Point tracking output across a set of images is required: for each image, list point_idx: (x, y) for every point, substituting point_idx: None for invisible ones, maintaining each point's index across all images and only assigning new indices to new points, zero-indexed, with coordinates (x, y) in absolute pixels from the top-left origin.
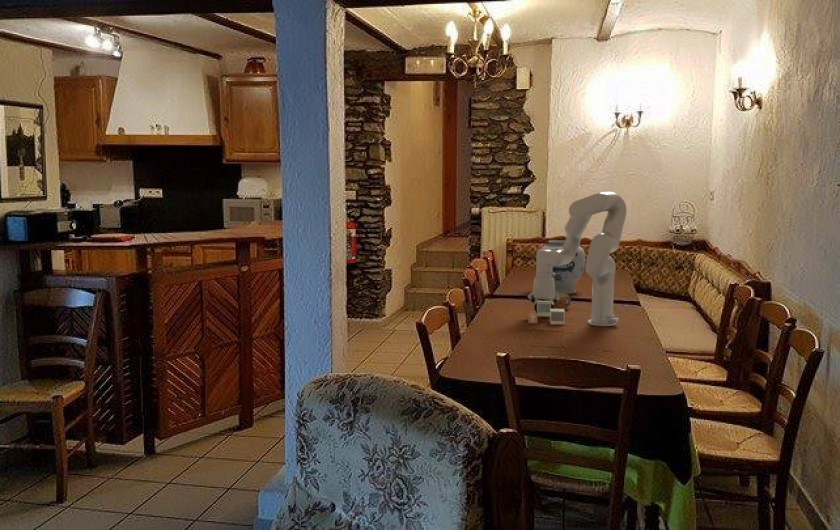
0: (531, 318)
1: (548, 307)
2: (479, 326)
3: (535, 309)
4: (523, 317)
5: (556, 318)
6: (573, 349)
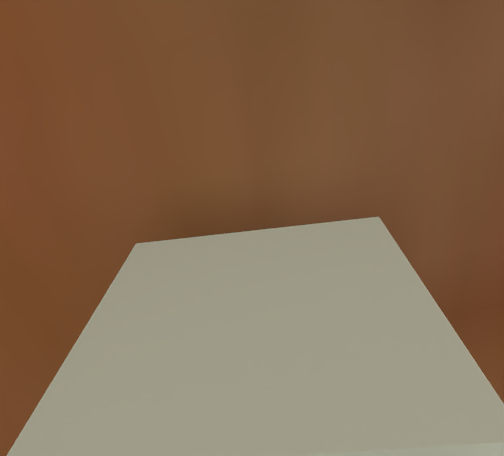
0: None
1: (366, 305)
2: None
3: None
4: (13, 352)
5: None
6: None
